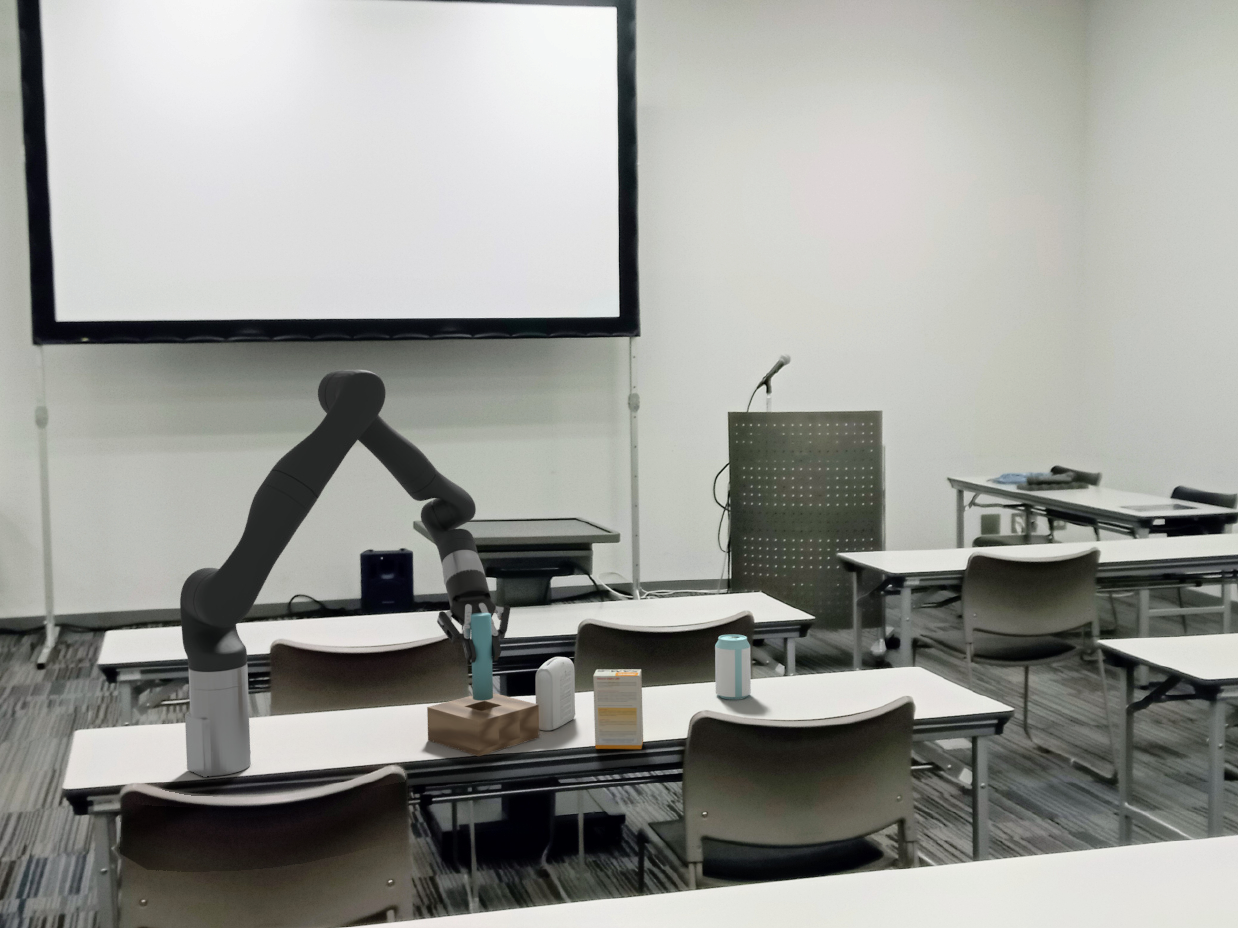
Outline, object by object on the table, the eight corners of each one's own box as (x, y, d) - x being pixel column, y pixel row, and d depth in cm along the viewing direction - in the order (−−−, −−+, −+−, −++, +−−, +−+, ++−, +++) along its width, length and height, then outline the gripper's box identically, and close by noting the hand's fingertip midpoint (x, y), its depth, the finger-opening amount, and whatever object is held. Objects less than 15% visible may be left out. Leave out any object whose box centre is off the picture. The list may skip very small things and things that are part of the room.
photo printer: (557, 715, 220) (556, 651, 220) (578, 717, 219) (577, 653, 218) (532, 730, 211) (531, 663, 210) (553, 732, 209) (552, 665, 209)
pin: (481, 701, 203) (479, 617, 202) (468, 698, 206) (466, 614, 205) (497, 697, 206) (495, 614, 205) (484, 693, 208) (482, 611, 207)
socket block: (478, 756, 196) (477, 721, 196) (428, 740, 206) (427, 706, 205) (539, 737, 206) (538, 704, 206) (488, 722, 216) (487, 691, 216)
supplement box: (643, 741, 203) (642, 668, 202) (641, 750, 198) (640, 675, 198) (597, 741, 204) (596, 667, 203) (593, 749, 199) (592, 674, 198)
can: (711, 692, 236) (711, 634, 235) (744, 690, 237) (744, 632, 236) (720, 701, 229) (720, 641, 228) (755, 699, 230) (754, 639, 229)
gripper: (430, 571, 208) (449, 651, 198) (505, 565, 214) (527, 643, 203) (424, 595, 214) (442, 674, 203) (498, 589, 219) (519, 666, 209)
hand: (485, 658), depth 203 cm, fingers closed on pin, 3 cm apart
